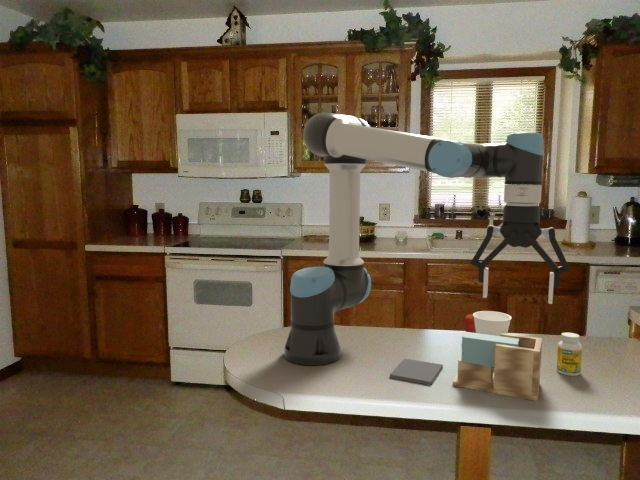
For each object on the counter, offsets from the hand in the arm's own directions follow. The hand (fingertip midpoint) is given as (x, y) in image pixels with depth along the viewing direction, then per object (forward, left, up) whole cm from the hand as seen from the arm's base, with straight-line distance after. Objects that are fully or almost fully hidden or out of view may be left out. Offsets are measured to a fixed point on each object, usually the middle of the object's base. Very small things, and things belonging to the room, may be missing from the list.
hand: (516, 299), depth 112 cm
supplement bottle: (+12, +16, -21) cm, 29 cm away
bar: (-5, 0, -16) cm, 16 cm away
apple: (-13, +32, -21) cm, 41 cm away
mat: (-22, -1, -21) cm, 30 cm away
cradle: (-3, 0, -21) cm, 21 cm away
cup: (-7, +20, -21) cm, 30 cm away
